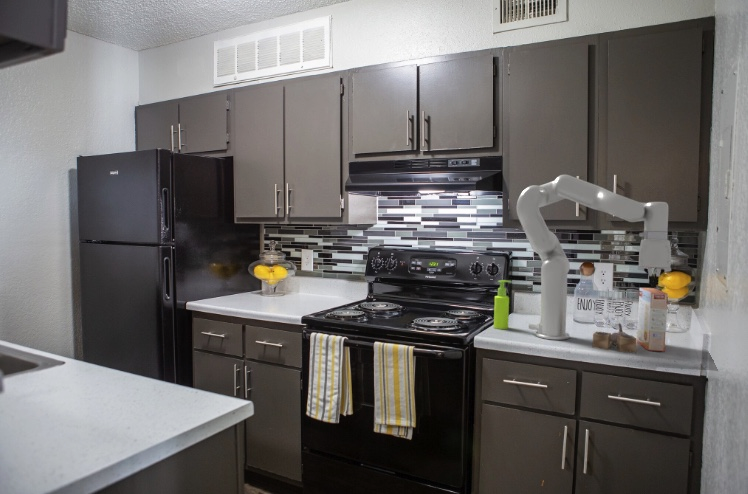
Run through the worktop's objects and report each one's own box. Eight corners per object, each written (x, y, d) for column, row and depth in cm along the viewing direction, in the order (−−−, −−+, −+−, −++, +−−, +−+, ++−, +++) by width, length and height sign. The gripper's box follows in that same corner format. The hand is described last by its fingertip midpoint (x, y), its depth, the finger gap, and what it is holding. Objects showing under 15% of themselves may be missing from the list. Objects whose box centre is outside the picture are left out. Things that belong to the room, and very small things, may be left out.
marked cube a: (620, 351, 187) (621, 336, 187) (616, 348, 192) (617, 333, 192) (635, 352, 186) (636, 337, 186) (631, 349, 191) (632, 334, 191)
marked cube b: (592, 347, 193) (593, 333, 193) (595, 344, 197) (596, 330, 197) (607, 349, 190) (608, 335, 190) (610, 347, 194) (611, 332, 194)
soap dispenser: (512, 329, 222) (514, 281, 221) (496, 329, 221) (498, 281, 220) (507, 326, 228) (508, 279, 227) (491, 326, 227) (493, 279, 226)
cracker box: (665, 352, 187) (668, 292, 186) (647, 351, 189) (650, 292, 187) (653, 342, 201) (656, 287, 200) (636, 341, 202) (638, 287, 201)
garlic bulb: (611, 346, 195) (612, 324, 195) (606, 341, 203) (607, 320, 202) (633, 347, 194) (634, 325, 193) (628, 342, 201) (629, 321, 200)
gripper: (632, 236, 192) (630, 286, 193) (680, 237, 186) (678, 289, 187) (632, 235, 199) (630, 284, 200) (678, 236, 193) (676, 287, 194)
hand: (653, 286), depth 193 cm, fingers closed
